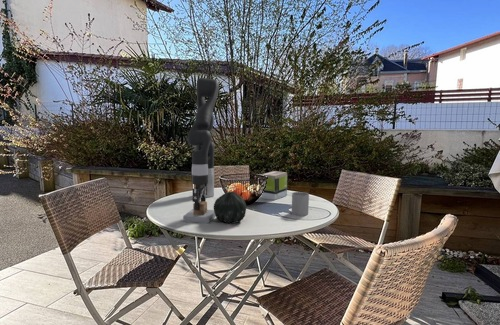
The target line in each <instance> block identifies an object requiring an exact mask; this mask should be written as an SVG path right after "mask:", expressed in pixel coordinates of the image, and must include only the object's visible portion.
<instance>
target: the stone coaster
mask: <svg viewBox="0 0 500 325" xmlns="http://www.w3.org/2000/svg"><path fill="white" fill-rule="evenodd" d="M215 217H216V215H215V212H214V209H207V212H206V213H205V214H204V215H197V214H193V208H192V209H191V210H189V211H188V212H187V213H186V214H184V215H183V222H186V223H187V222H188V223H189V222H190V223H200V224H201V223H203V224H210V222H212V221H213V219H215Z"/></svg>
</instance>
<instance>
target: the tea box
mask: <svg viewBox="0 0 500 325" xmlns="http://www.w3.org/2000/svg"><path fill="white" fill-rule="evenodd" d="M261 175H264V176H267V177H268V179H267V184H266V188H265V190H264V192H263V194H262V195H261V194H260V195H261V196H260V198H262V199H266V200H271V201H276V200H278V199H280V198H283V197H286V196H288V172H286V171H285V172H284V171H275V170H273V171H269V172H265V173H261V174H260V176H261Z"/></svg>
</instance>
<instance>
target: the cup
mask: <svg viewBox="0 0 500 325" xmlns="http://www.w3.org/2000/svg"><path fill="white" fill-rule="evenodd" d="M309 201H310V194H309V193H308V192H304V191H296V192H292V193H291V214H292V215H294V216H298V217H301V216H302V217H303V216H304V217H305V216H308V215H309V205H310V204H309V203H310V202H309Z"/></svg>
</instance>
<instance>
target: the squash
mask: <svg viewBox="0 0 500 325" xmlns="http://www.w3.org/2000/svg"><path fill="white" fill-rule="evenodd" d="M213 210H214V212H215V215H216V216H215V217H216V218H217V219H218V220H219V221H221V222H225V223H227V224H231V223H232V224H236V223H237V222H241V221H242V220H244V218H245V216H246V212H247V203H246V201H245V199H244V198H243V197H242V196H240V195H239V194H238V193H236V192H235V191H227V192H225V193H223V194H222V195H221V196H219V197H218V198H216V200H215V201H214V204H213Z"/></svg>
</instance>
